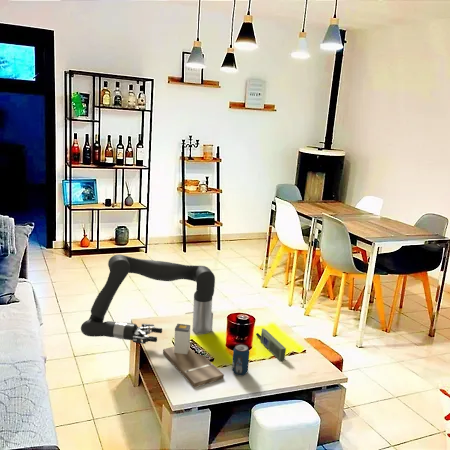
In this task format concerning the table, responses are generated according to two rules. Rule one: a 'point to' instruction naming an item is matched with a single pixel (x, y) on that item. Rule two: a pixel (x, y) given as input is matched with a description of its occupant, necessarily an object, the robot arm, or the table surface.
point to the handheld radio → (272, 345)
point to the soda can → (240, 359)
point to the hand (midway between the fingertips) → (159, 335)
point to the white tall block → (182, 339)
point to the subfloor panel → (194, 367)
